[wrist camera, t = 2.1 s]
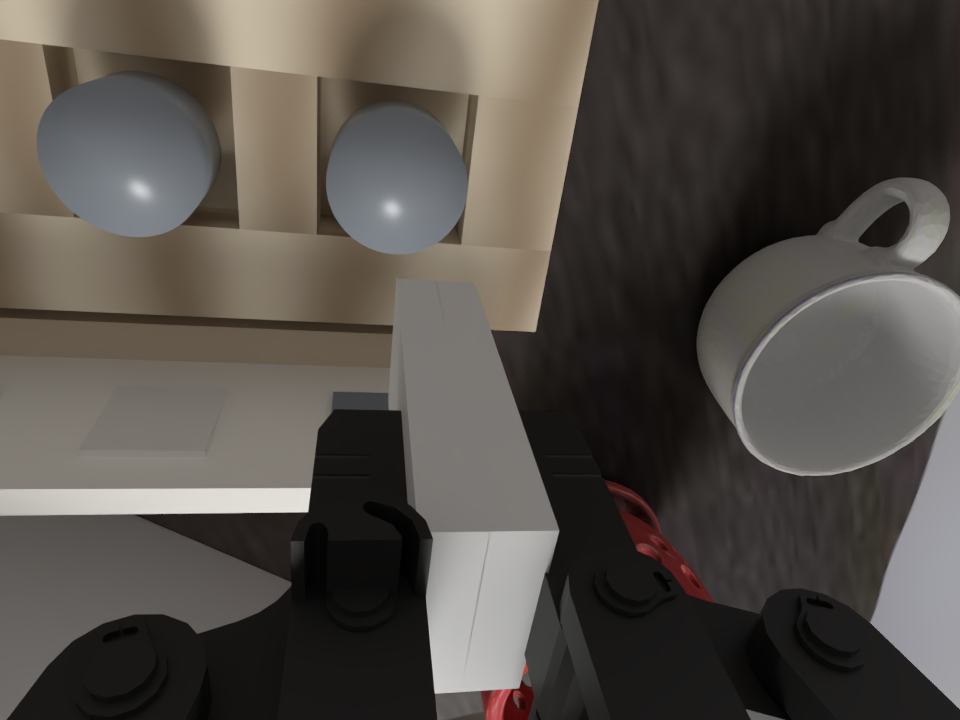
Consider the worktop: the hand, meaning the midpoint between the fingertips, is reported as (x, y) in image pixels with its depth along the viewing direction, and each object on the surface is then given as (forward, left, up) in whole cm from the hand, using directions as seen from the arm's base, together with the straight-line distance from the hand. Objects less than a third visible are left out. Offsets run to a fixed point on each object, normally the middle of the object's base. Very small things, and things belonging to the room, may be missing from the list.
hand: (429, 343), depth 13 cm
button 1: (0, 0, -15) cm, 15 cm away
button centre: (-9, 0, -15) cm, 17 cm away
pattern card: (-9, -11, -18) cm, 23 cm away
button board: (-9, 0, -18) cm, 20 cm away
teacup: (+21, -5, -18) cm, 28 cm away
